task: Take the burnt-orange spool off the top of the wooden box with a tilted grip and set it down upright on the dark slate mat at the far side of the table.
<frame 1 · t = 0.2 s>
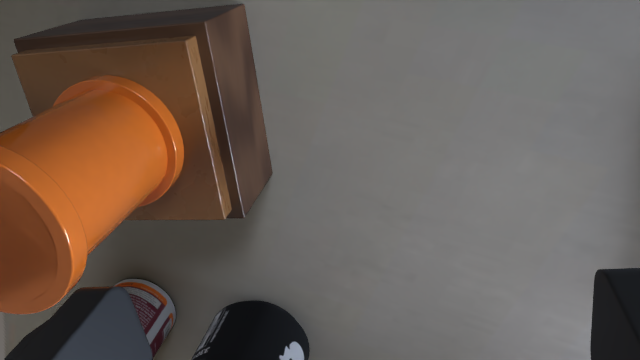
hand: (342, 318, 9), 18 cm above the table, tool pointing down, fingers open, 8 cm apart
beverage can: (263, 331, 35), on the table
pill bottle: (145, 303, 36), on the table
spool: (121, 140, 23), point 6 cm above the table, touching wooden box
wooden box: (179, 99, 28), on the table
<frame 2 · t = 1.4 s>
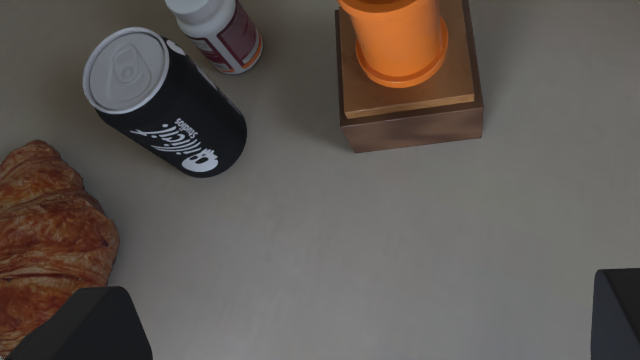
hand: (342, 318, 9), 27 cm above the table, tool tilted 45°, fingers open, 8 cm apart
pastry: (62, 266, 43), on the table
beverage can: (213, 142, 43), on the table
pill bottle: (238, 52, 45), on the table
spool: (402, 47, 34), point 6 cm above the table, touching wooden box
wooden box: (411, 89, 39), on the table
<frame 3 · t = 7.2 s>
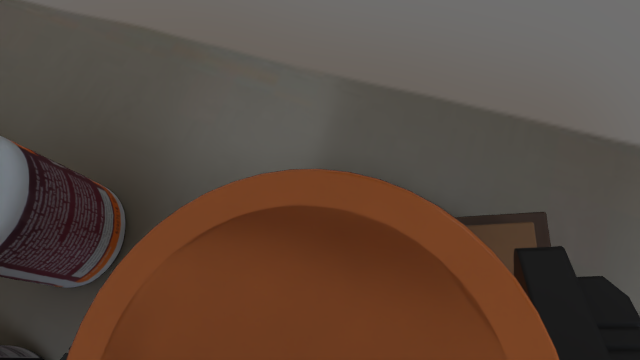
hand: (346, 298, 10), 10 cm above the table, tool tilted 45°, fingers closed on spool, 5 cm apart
pill bottle: (84, 236, 24), on the table
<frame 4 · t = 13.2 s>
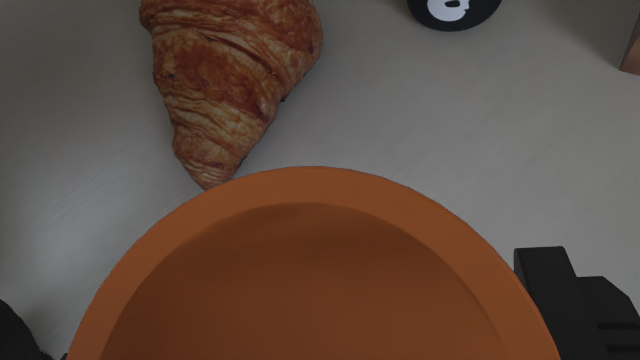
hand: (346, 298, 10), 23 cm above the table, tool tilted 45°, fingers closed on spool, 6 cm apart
pastry: (246, 60, 40), on the table
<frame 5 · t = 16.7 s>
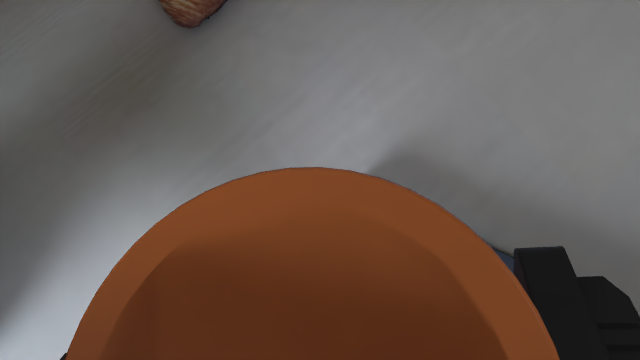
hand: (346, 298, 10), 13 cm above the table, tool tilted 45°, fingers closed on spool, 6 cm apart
when the fingers open (5 cm above the table, at t = 19.5 s): spool stays where it is, resting on mat.
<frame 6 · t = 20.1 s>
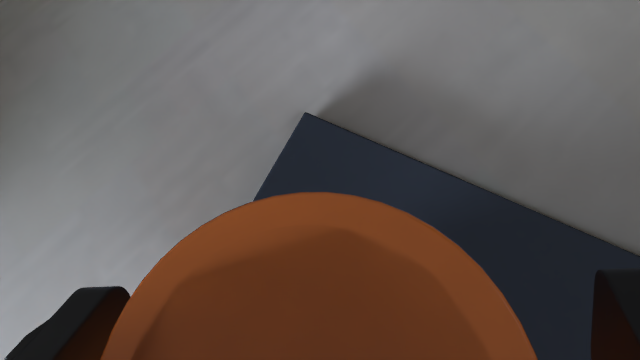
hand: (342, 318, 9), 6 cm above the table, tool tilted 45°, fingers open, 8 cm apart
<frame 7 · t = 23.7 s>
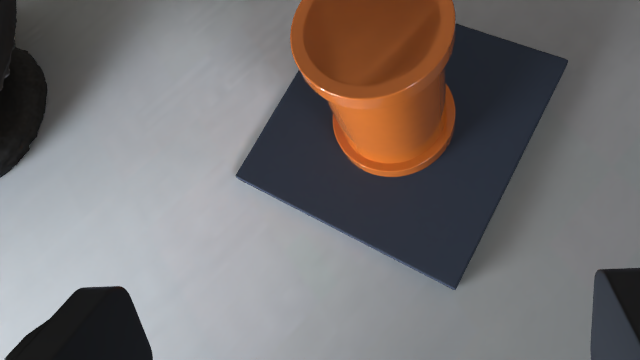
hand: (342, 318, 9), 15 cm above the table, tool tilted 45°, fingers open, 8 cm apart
spool: (394, 121, 26), resting on mat
mat: (395, 124, 26), on the table
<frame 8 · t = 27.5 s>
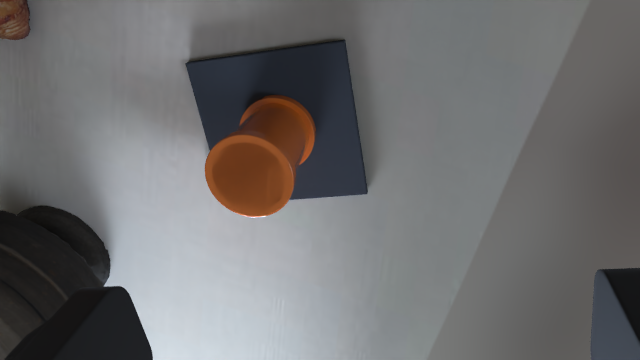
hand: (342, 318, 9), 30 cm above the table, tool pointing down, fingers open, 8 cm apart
pot: (62, 250, 51), on the table
spool: (278, 131, 40), resting on mat
mat: (280, 128, 41), on the table
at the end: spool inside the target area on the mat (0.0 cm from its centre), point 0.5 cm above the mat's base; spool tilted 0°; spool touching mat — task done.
